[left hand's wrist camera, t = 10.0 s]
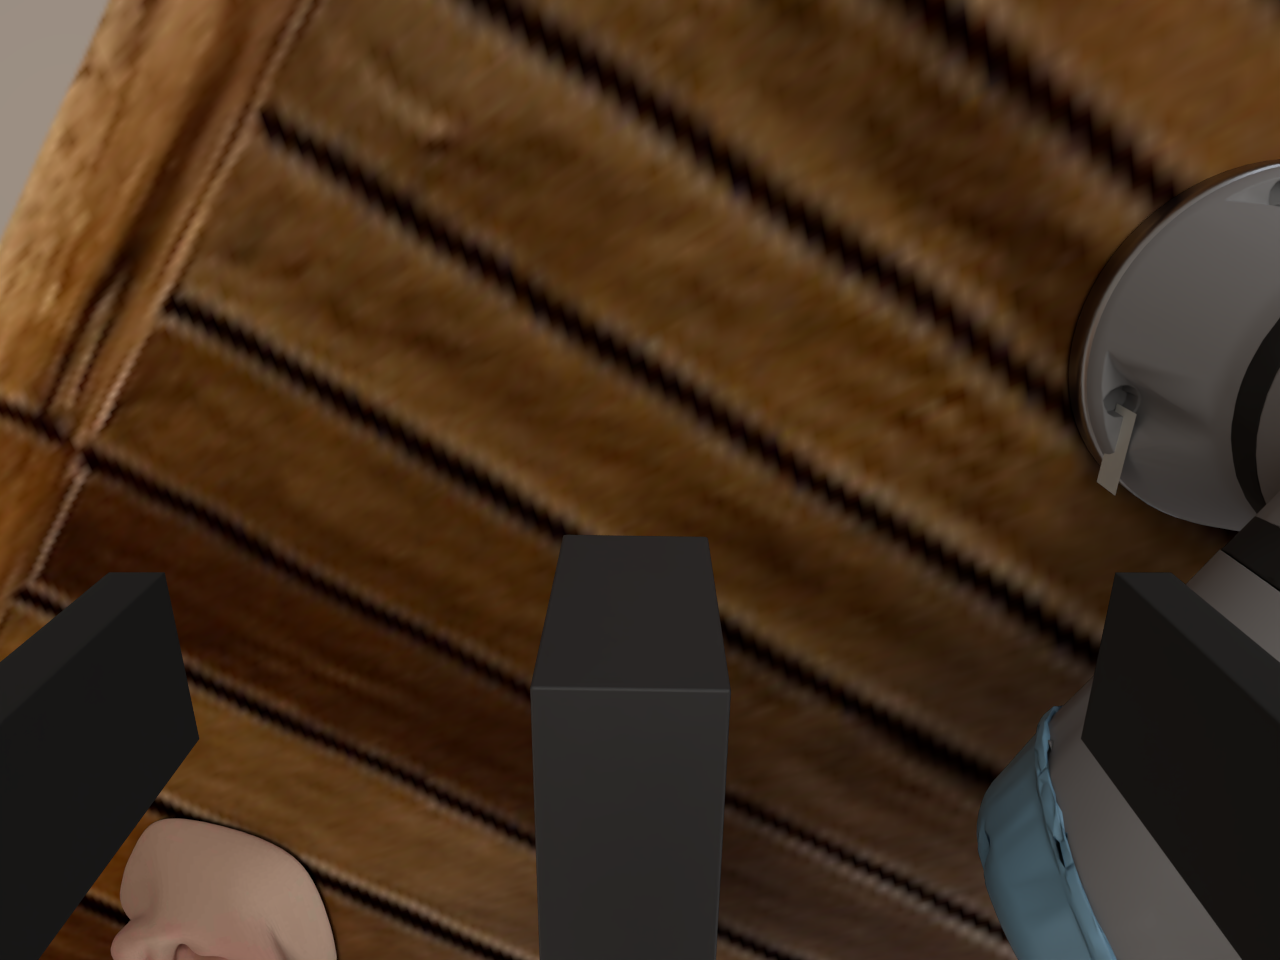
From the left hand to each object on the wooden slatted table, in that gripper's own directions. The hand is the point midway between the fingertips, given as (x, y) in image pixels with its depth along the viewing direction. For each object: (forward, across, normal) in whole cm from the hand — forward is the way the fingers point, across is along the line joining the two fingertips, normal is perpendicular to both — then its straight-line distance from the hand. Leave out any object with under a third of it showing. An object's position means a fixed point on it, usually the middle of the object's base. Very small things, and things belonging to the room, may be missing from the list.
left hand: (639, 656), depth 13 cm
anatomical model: (+27, -23, -33) cm, 49 cm away
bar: (+16, 0, -18) cm, 24 cm away
